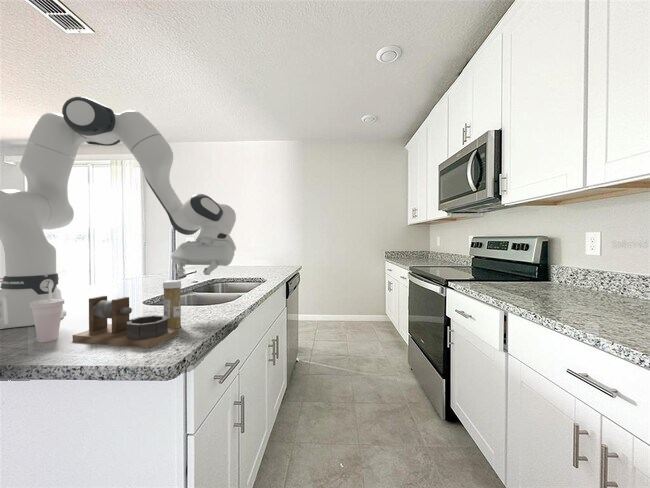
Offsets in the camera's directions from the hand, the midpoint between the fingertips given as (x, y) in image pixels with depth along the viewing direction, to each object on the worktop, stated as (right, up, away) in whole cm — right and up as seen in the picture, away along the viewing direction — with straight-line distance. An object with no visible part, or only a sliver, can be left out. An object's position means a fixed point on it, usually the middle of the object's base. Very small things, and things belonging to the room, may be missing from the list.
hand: (192, 273), depth 94 cm
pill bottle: (-2, -15, -9) cm, 17 cm away
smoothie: (-28, -15, -19) cm, 37 cm away
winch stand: (-9, -15, -17) cm, 24 cm away
